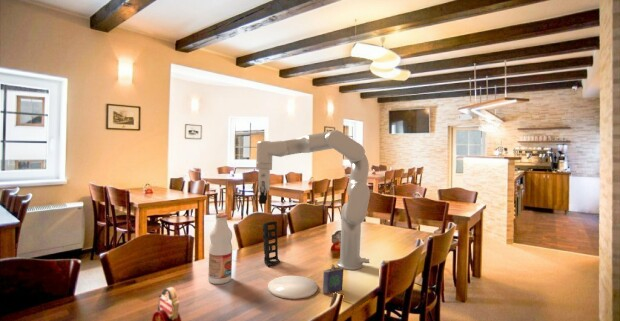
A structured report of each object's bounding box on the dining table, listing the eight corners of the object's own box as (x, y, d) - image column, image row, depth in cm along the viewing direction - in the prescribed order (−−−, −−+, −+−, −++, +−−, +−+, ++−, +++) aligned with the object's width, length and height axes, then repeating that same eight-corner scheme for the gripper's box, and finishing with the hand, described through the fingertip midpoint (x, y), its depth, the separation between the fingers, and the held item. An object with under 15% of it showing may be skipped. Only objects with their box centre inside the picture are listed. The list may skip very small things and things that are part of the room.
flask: (324, 295, 128) (325, 267, 127) (320, 292, 130) (321, 265, 130) (343, 290, 132) (344, 264, 132) (339, 287, 135) (340, 262, 135)
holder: (275, 267, 154) (273, 225, 154) (260, 267, 156) (258, 225, 156) (282, 260, 165) (280, 220, 165) (268, 260, 167) (265, 221, 167)
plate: (316, 279, 143) (316, 276, 143) (318, 300, 123) (318, 296, 123) (270, 277, 143) (270, 275, 143) (265, 298, 123) (265, 295, 123)
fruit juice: (209, 276, 142) (210, 212, 141) (231, 275, 144) (233, 212, 143) (207, 285, 133) (209, 216, 132) (231, 283, 135) (233, 216, 134)
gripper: (271, 167, 149) (270, 205, 150) (272, 165, 166) (271, 199, 167) (254, 167, 148) (253, 204, 149) (257, 165, 166) (256, 199, 166)
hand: (263, 202), depth 158 cm, fingers open, 9 cm apart
